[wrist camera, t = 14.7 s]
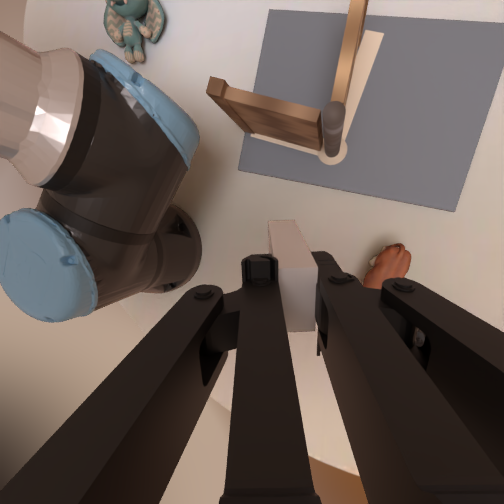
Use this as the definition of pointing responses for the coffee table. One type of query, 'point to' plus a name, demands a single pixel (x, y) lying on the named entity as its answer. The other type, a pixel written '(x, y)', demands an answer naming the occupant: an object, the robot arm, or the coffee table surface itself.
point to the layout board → (382, 102)
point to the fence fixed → (281, 117)
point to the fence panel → (349, 49)
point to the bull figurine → (388, 265)
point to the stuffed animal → (133, 24)
